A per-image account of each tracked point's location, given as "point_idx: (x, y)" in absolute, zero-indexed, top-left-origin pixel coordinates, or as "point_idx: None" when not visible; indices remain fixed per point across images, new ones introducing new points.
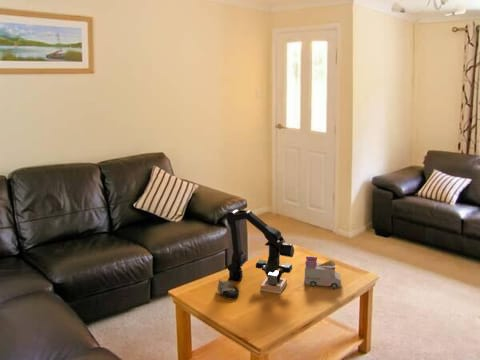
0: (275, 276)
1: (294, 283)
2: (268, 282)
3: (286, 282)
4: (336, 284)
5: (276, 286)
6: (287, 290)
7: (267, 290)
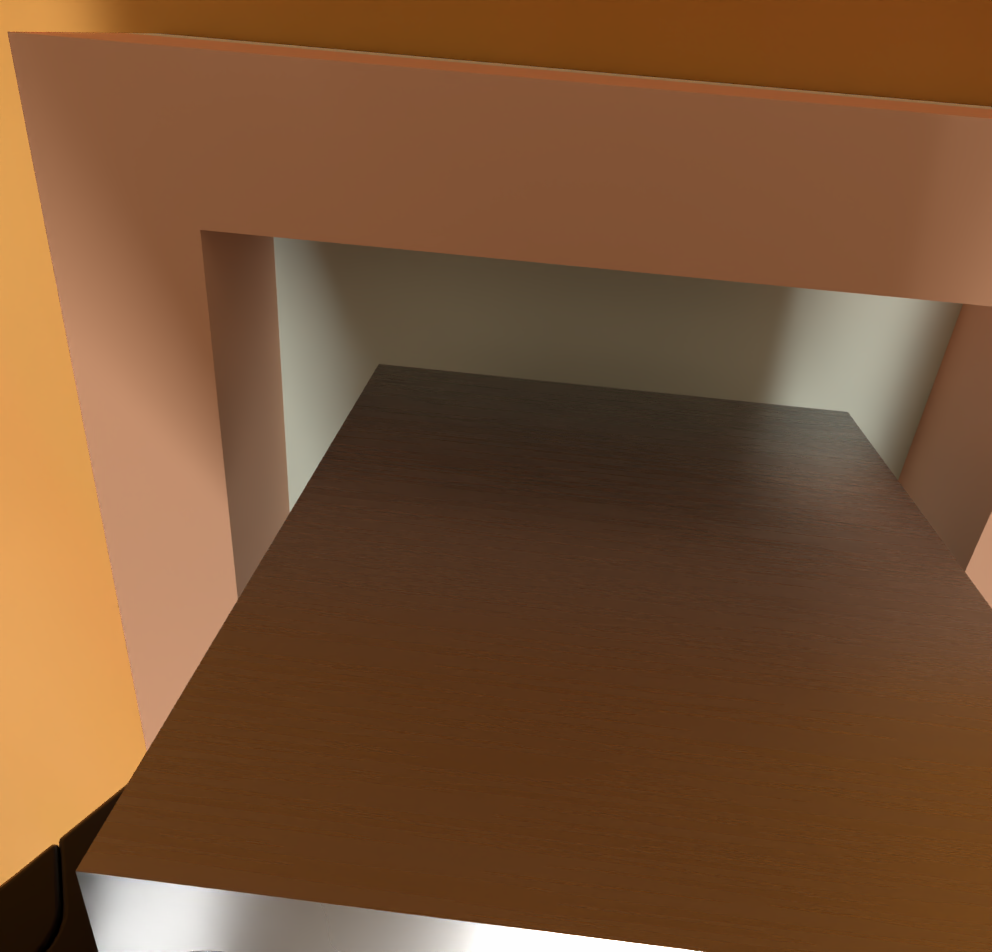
0: (261, 809)
1: (60, 801)
2: (835, 472)
3: None
4: None
5: None
6: (31, 385)
7: (786, 89)
